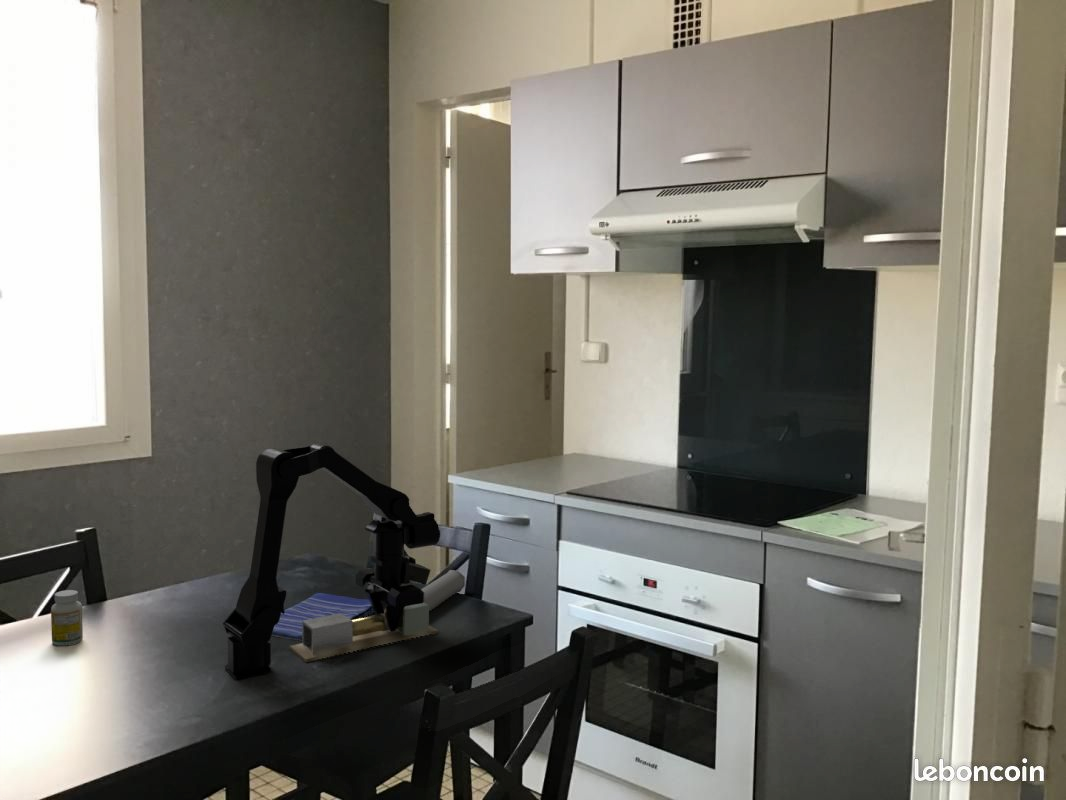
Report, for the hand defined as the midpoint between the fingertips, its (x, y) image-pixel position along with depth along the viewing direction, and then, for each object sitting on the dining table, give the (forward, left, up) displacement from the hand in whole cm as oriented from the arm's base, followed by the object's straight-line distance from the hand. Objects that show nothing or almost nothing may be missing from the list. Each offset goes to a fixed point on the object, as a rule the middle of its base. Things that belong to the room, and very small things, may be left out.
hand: (388, 628), depth 179 cm
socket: (+5, 0, -2) cm, 5 cm away
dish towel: (-8, +17, -2) cm, 19 cm away
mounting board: (-5, 0, -2) cm, 5 cm away
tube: (+16, +12, -2) cm, 20 cm away
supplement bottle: (-53, +31, -2) cm, 61 cm away
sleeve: (-13, 0, -2) cm, 13 cm away
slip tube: (-3, 0, 0) cm, 3 cm away
